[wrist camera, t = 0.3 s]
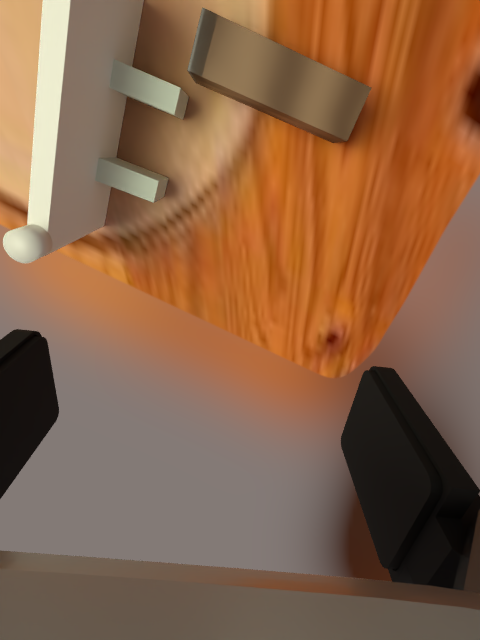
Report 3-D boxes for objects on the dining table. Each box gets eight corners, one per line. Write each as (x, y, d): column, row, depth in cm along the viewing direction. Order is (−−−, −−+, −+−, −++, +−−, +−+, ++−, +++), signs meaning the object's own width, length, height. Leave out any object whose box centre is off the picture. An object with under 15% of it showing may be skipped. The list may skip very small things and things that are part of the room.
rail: (195, 82, 30) (187, 70, 26) (209, 30, 29) (202, 7, 24) (333, 143, 32) (347, 141, 28) (353, 97, 31) (371, 87, 26)
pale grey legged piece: (121, -14, 27) (17, -156, 15) (206, 25, 28) (176, -76, 16) (86, 221, 36) (2, 256, 24) (152, 244, 37) (105, 290, 25)
